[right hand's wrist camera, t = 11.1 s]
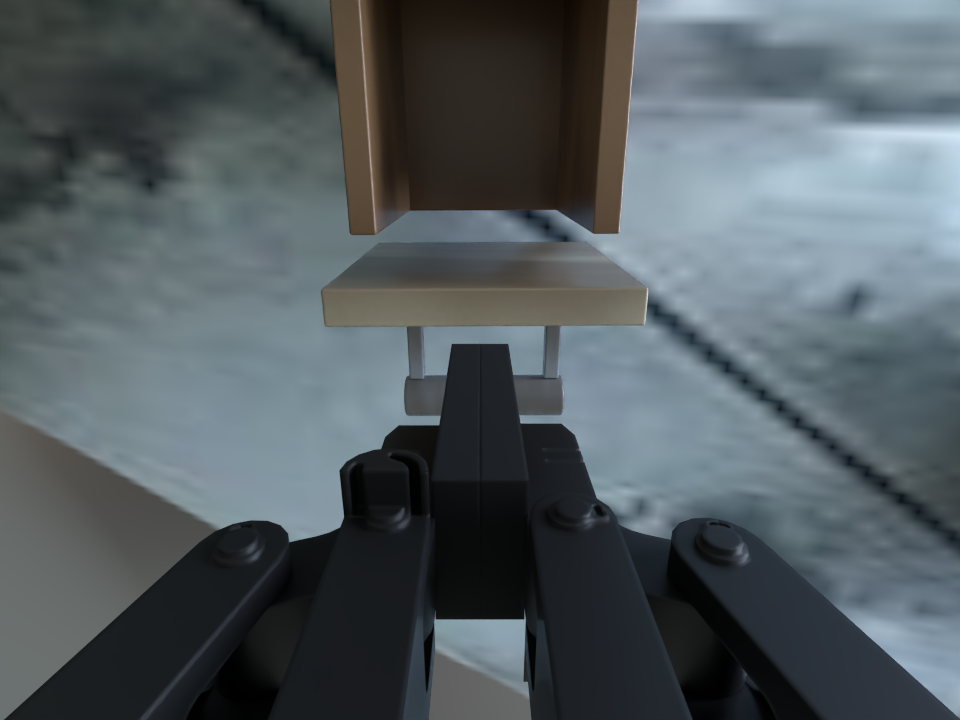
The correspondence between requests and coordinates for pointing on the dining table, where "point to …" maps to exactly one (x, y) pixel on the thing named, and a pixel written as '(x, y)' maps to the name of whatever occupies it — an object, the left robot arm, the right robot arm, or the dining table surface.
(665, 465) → the dining table surface
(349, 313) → the drawer
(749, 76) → the dining table surface
